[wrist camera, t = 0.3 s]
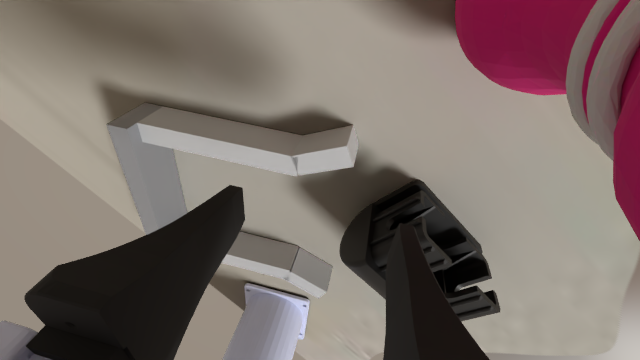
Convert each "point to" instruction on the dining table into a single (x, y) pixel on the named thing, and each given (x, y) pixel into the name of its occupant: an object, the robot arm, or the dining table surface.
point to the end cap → (436, 241)
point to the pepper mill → (569, 68)
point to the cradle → (234, 146)
